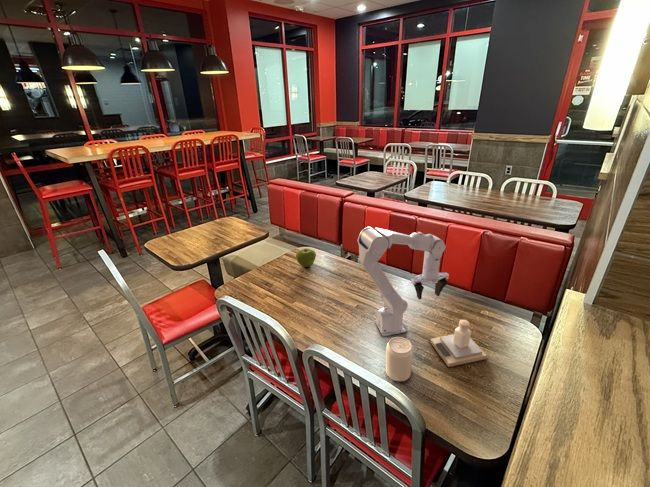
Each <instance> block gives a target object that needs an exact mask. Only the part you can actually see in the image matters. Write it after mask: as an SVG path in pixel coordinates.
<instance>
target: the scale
mask: <svg viewBox="0 0 650 487" xmlns="http://www.w3.org/2000/svg"><path fill="white" fill-rule="evenodd" d="M453 339H454V333H453V334H449V335H443V336H438V337H433V338H430V340H429V341H430V344H431V345H432V347H433V348H434V349H435V351H436V353H437V354H438V355H439V357H440V358H441V359H442V360H443V361H444V363H445V364H446V366H447V368H450V367H451V368H452V367H455V366H460V365H464V364H469V363H474V362H479V361H484V360H486V359H487V356H488V355H487V354H486V353H485V352H484V351H483V349H482V348H481V347H479V345H478V344H477V343H476V342H475V341H474V340H473V339H472V337H470V342H469V345H468V346H466V347H464V348H462V349H461V348H459V347H458V346H457V345H456V344H454V343H453Z"/></svg>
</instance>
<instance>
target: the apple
mask: <svg viewBox="0 0 650 487" xmlns="http://www.w3.org/2000/svg"><path fill="white" fill-rule="evenodd" d="M316 257H317V253H316V251H315V250H314V249H312V248H309V247H306V248H305V247H304V248H301V249H299V250H297V252H296V254H295V258H296V261H297V262H298V265H300V266H302V267H305V268H309V267H311V266H312V265H314V262H315V260H316Z"/></svg>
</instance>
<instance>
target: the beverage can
mask: <svg viewBox="0 0 650 487" xmlns="http://www.w3.org/2000/svg"><path fill="white" fill-rule="evenodd" d="M385 349H386V350H385V374H386V375H387V377H388V378H389V379H391V380H392V381H395V382H405V381H407V380H408V379H409V378H410V377H411V375H412V364H413V354H414V347H413V345H412V343H411V341H410V340H409V339H407V338H405V337H402V336H394V337H392V338H390V339H389V340H388V342H387V344H386V348H385Z"/></svg>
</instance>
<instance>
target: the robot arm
mask: <svg viewBox="0 0 650 487" xmlns="http://www.w3.org/2000/svg"><path fill="white" fill-rule="evenodd" d="M357 244H358V255H359V256H358V257H359V258H358V259H359V262H360V264H361V266H362V267H363V268H364V270H365V272H366V273H367V275H368V276H369V277H370V279H371V281H372V282H373V283H374V285H375V286H376V288H377V289H378V292H379V294H380V299H381V301H382V302H383V307H382V308H379V309H378V310H377V311H376V322H375V324H376V326H377V328H378V330H379V332H380V334H381V335H382V337H387V336H391V335H398V334H403V333H406V332H407V330H406V328H405V326H404V325H403V321H404V320H403V318H404V313H405V312H407V309H408V307H409V304H408V301H407V300H405V299H404V298H403V297H402V296H401V295H400V294H399V293H398V292H397V291H396V290H395V288H394V286H393V285H392V283H391V282H390V280H389V279H388V277H387V276H386V274H385V272H384V271H383V269H382V267H381V266H380V265H379V263H378V262H379V261H380V259H381V258H382V256H383V255H384V254H385V252H386V251H387V249H391V247H392V246H393V245H394V244H395V245H405V246H408V247H409V249H411V250H417V251H422V252H424V253H423V263H422V264H423V265H422V273H421V274H418V275H416V276H415V277H411V279H410V283H411V284H412V285H413V287H414V289H415V292H416V298H417V299H418V300H422V296H423V292H424V289H425V286H424V285H423V283H431V284H434V294H435V296H436V297H440V295H441V293H442V291H443V290H444V288H445V287H446V286H447V285H448V280H449V277H450V275H449V273H448V272H440V265H441V258H442V257H443V254H444V252H445V250H446V247H447V246H446V244H445V241H444V240H443V239H441V238H439V237H438V236H436V235H434V234H432V233H427V234H424V232H421V231H417V232H412V233H411V234H406V233H401V232H396V231H393V230H389V229H384V228H380V227H371V226H367V227H364V228H363V229H362V230H361V231H360V233H359V235H358V238H357Z"/></svg>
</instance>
